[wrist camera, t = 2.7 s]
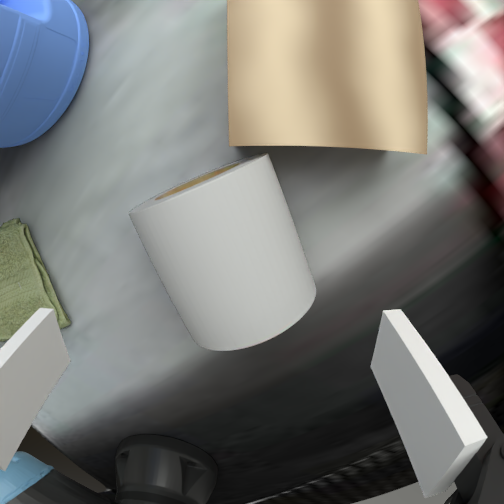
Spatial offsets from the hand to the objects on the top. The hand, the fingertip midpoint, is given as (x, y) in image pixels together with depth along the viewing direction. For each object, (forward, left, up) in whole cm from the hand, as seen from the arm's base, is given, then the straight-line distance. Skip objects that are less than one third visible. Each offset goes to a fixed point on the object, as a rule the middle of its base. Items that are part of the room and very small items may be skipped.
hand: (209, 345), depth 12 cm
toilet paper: (0, 0, -17) cm, 17 cm away
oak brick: (+7, +13, -17) cm, 22 cm away
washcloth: (-27, -6, -17) cm, 33 cm away
